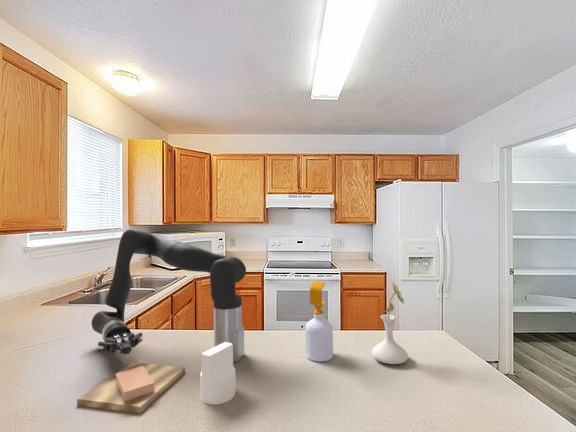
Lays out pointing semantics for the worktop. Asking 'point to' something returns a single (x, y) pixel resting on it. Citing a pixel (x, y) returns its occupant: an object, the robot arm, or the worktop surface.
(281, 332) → the worktop surface
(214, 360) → the base with upright slab
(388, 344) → the flower in vase
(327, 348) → the soap bottle
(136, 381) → the tile
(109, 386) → the board
